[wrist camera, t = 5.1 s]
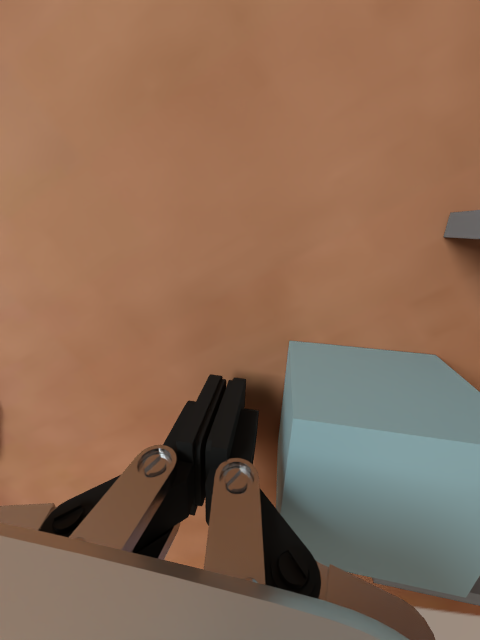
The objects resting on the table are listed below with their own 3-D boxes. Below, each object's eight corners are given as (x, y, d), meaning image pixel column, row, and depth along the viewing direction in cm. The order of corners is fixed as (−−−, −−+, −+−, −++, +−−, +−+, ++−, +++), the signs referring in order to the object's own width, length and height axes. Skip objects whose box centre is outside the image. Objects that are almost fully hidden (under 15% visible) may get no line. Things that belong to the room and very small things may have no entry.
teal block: (289, 340, 11) (292, 418, 7) (435, 355, 11) (555, 454, 6) (277, 443, 13) (274, 556, 9) (399, 461, 13) (465, 597, 8)
